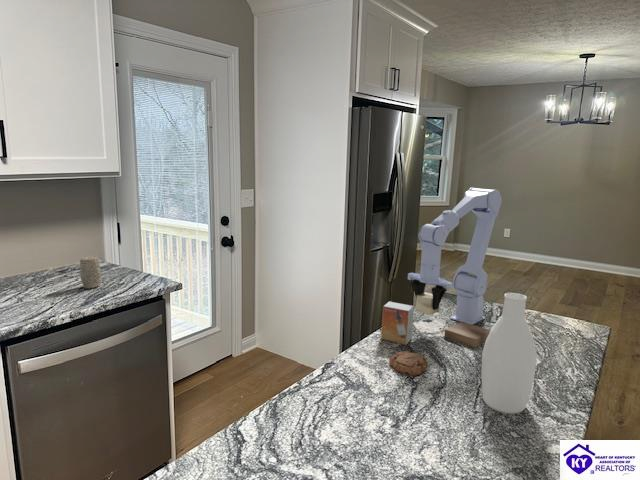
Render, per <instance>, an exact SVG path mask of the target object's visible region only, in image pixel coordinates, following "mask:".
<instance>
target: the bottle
mask: <svg viewBox="0 0 640 480" xmlns="http://www.w3.org/2000/svg"><path fill="white" fill-rule="evenodd" d="M503 298H504V301H503V305H502V306H503V307H502V313H501V316H499V318H498V319H497V321H496V322H495V323H494V324H493V326H492V327H491V328H490V330H491V331H490V333H489V335H488V337H487V339H486V341H485V342H484V345H483V350H482V353H481V372H480V373H481V374H480V375H481V393H482V400H483V402H484V403H485V404H486V405H487V406H488V408H491V409H492V410H494V411H496V412H499V413H502V414H509V415H512V414H513V415H515V414H520V413H522V412H523V411H524V410H525V409H526V408H527V406H528V401H529V399H530V395H531V393H532V388H533V383H534V377H535V371H536V367H537V349H536V344H535V340H534V335H533V333H532V331H531V329H530V327H529V325H528V323H527V320H526V302H527V299H528V297H527V295H525V294H522V293H517V292H506V293H504V294H503Z"/></svg>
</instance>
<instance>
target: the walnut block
mask: <svg viewBox="0 0 640 480" xmlns="http://www.w3.org/2000/svg"><path fill="white" fill-rule="evenodd" d="M490 331H491V329H487V328H485V327H481V326H478V325H475V324H473V325H472V324H468V323H465V322H462V321H461V322H460V321H458V322H457V323H455V324H453V325H452V326H449V327H447V328H445V329H444V338H445V339H447V340H451V341H452V342H453V341H454V342H457V343H460V344H462V345H466V346H469V347H472V348H474V349H475V348H477V347H479V346H481V345H482V344H485V341H486V339H487V337H488V335H489V333H490Z"/></svg>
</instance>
